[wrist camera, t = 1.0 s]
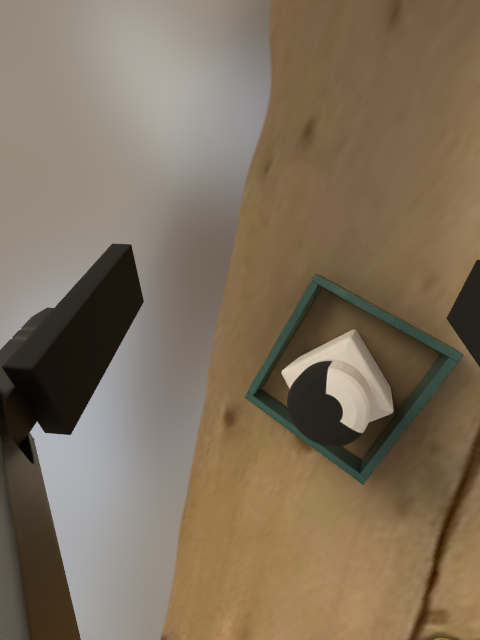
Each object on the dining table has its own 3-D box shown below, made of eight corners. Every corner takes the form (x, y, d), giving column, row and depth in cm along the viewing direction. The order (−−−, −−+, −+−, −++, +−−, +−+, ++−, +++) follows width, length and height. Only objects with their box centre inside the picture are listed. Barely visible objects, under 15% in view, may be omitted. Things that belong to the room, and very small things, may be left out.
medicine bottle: (329, 415, 35) (306, 471, 24) (297, 357, 36) (261, 386, 25) (392, 389, 32) (399, 439, 22) (355, 327, 33) (344, 344, 22)
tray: (320, 275, 34) (315, 273, 32) (456, 349, 30) (464, 355, 27) (252, 390, 39) (244, 397, 36) (364, 470, 34) (362, 484, 32)
